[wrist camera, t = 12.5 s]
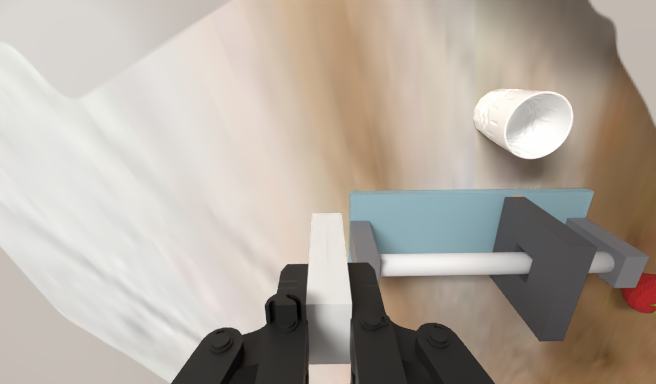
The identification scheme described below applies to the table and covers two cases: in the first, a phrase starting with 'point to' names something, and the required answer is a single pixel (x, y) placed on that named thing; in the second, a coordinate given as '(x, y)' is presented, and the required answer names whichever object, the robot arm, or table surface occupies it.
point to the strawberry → (642, 294)
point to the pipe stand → (471, 233)
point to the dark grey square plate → (542, 267)
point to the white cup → (524, 120)
